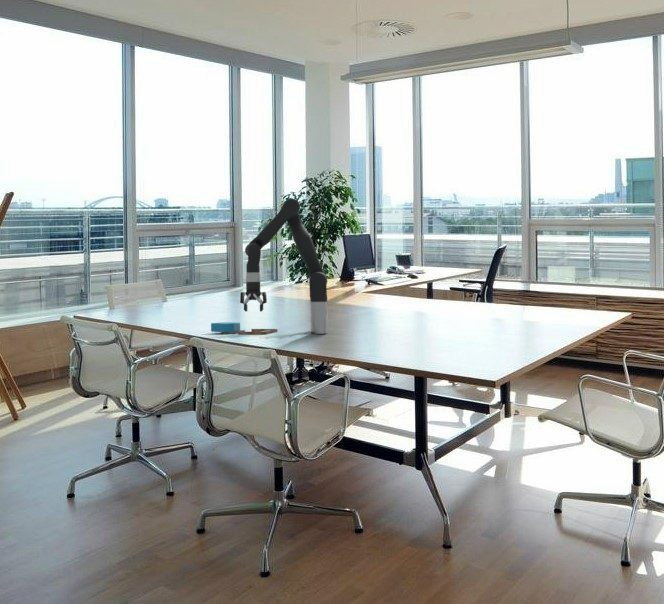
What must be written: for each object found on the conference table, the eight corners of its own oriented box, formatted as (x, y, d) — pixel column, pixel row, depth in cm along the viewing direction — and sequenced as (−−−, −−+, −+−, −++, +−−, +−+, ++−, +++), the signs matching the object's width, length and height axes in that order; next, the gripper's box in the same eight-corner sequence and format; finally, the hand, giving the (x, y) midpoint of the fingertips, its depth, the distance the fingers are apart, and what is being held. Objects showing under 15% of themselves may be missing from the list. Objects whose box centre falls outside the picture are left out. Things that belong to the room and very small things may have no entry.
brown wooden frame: (278, 331, 400) (277, 328, 400) (265, 334, 380) (265, 331, 380) (252, 331, 403) (252, 328, 403) (238, 334, 384) (238, 331, 384)
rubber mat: (245, 332, 401) (245, 330, 401) (235, 334, 388) (235, 332, 388) (231, 331, 403) (231, 330, 403) (221, 334, 390) (221, 332, 390)
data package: (227, 321, 403) (241, 322, 395) (227, 330, 403) (241, 331, 395) (209, 323, 394) (223, 324, 386) (209, 331, 395) (224, 332, 387)
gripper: (268, 280, 393) (268, 311, 394) (243, 281, 397) (243, 311, 398) (263, 281, 386) (263, 311, 387) (238, 281, 390) (238, 311, 390)
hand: (253, 311), depth 392 cm, fingers open, 8 cm apart
